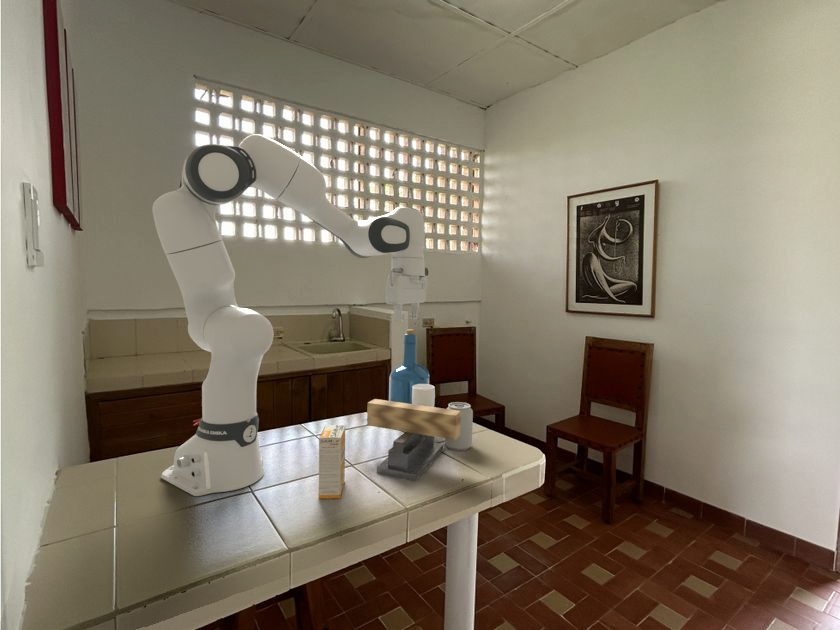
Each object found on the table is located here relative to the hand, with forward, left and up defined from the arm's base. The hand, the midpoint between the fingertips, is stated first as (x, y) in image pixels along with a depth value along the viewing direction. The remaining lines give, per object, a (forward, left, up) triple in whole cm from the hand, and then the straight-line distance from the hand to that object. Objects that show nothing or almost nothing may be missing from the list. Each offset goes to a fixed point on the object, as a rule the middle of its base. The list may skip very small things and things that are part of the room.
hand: (406, 320), depth 113 cm
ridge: (+6, -8, -35) cm, 36 cm away
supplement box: (-4, -29, -35) cm, 46 cm away
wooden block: (+6, -8, -27) cm, 29 cm away
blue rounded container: (-8, +22, -35) cm, 42 cm away
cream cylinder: (+2, +9, -35) cm, 36 cm away
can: (+14, +6, -35) cm, 39 cm away
